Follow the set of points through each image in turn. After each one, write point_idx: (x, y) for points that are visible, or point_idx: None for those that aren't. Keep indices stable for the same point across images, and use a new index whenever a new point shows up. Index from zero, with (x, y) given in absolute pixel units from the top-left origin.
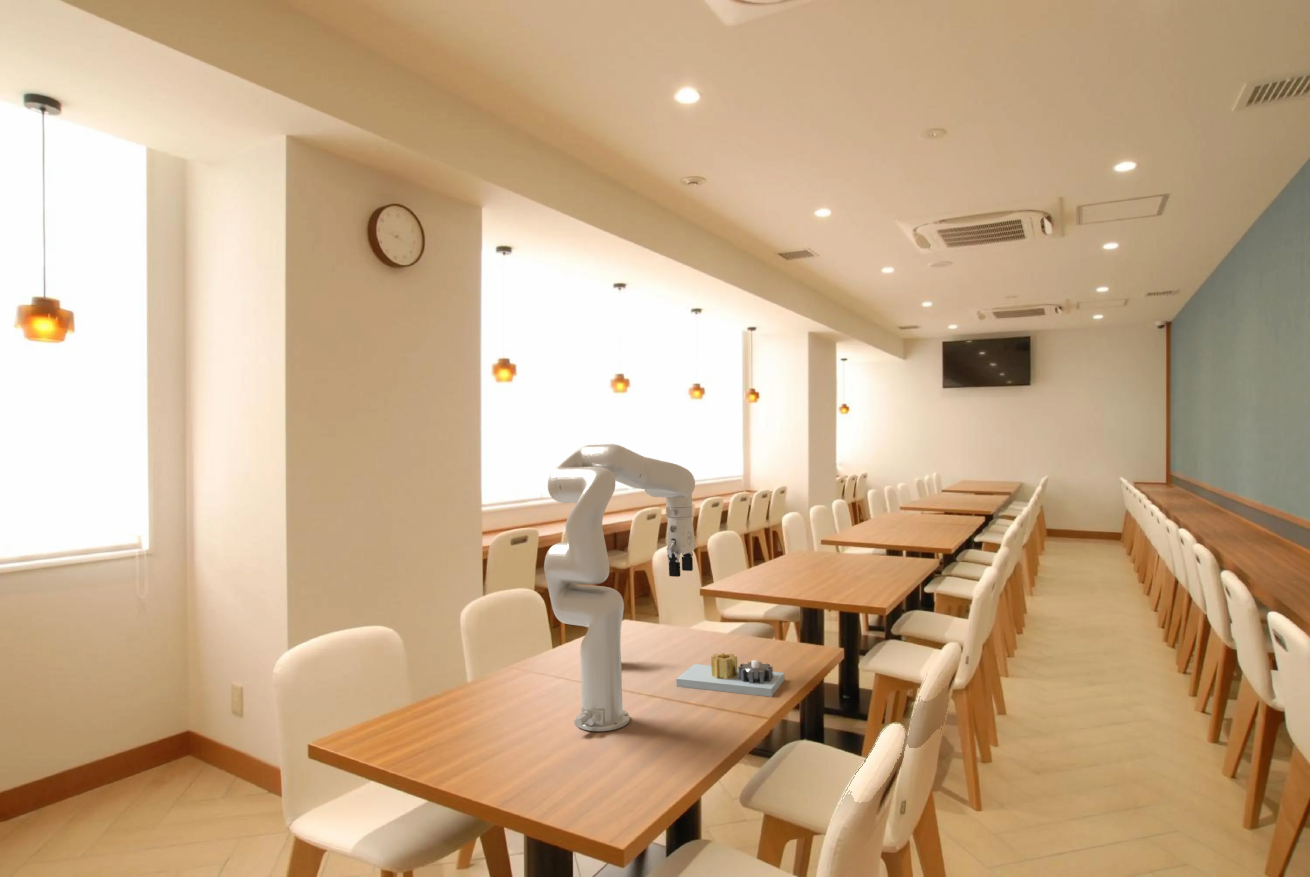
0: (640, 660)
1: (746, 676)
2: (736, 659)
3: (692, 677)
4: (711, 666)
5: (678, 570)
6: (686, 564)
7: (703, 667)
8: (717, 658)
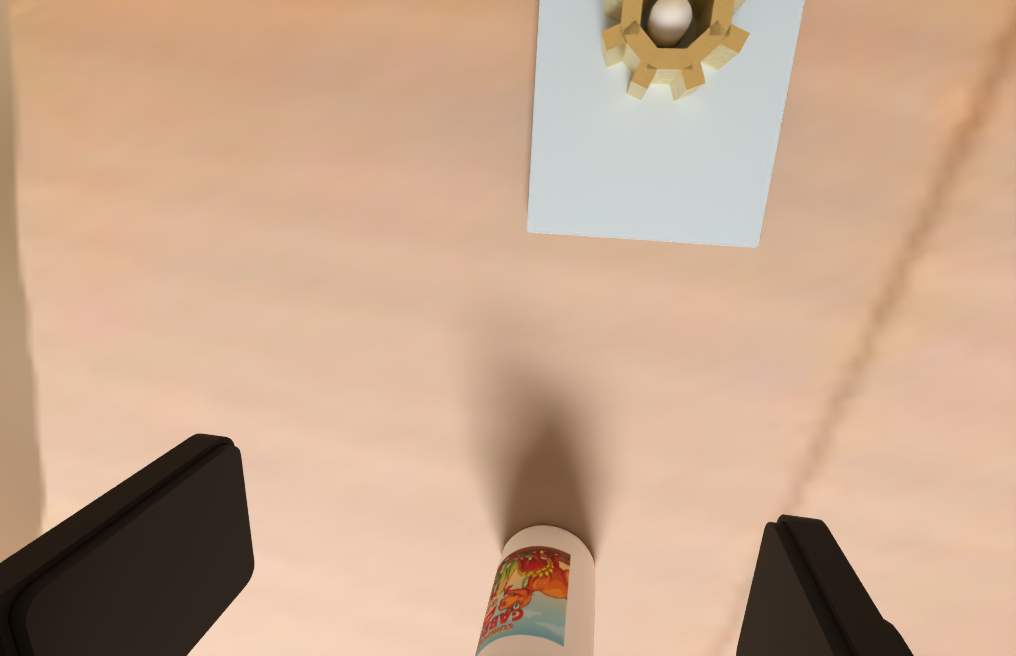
0: (457, 468)
1: None
2: None
3: (727, 180)
4: (696, 89)
5: (864, 617)
6: (179, 582)
7: (567, 176)
8: (720, 38)
